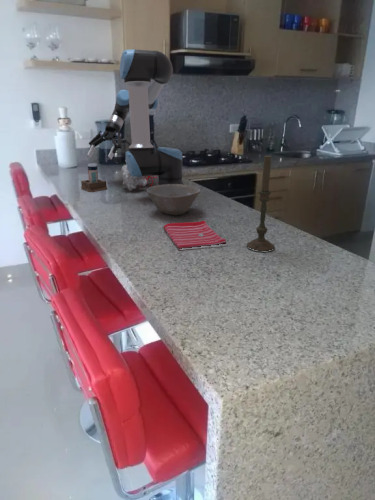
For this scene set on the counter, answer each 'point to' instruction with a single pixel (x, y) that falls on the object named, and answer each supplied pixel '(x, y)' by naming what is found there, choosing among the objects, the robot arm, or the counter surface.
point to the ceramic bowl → (173, 197)
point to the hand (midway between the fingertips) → (99, 157)
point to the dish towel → (192, 234)
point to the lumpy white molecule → (133, 179)
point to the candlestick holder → (263, 211)
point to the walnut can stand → (93, 185)
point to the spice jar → (93, 173)
